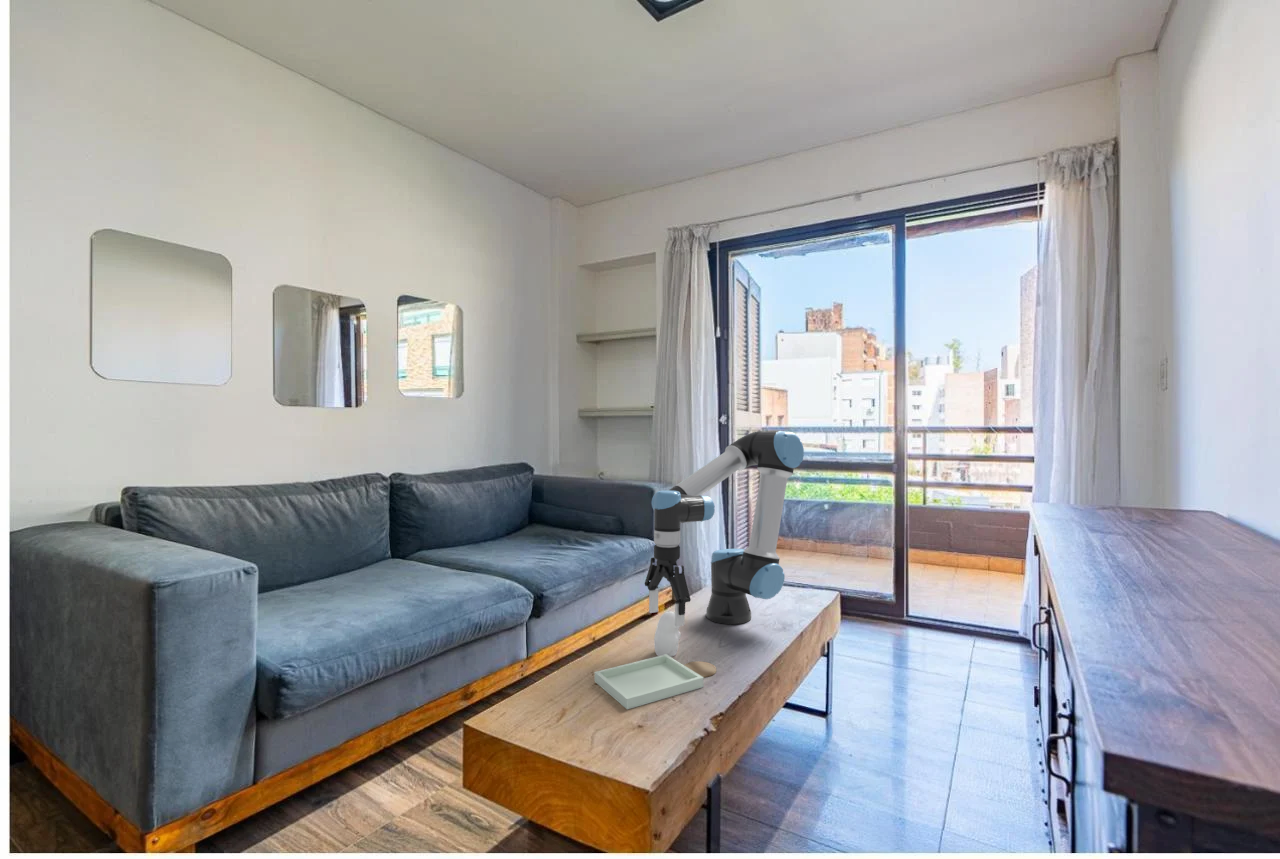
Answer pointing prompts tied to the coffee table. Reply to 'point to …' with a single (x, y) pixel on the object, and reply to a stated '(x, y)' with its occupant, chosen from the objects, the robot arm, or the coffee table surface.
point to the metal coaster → (702, 668)
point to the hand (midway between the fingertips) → (666, 618)
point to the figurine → (667, 635)
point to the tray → (648, 680)
